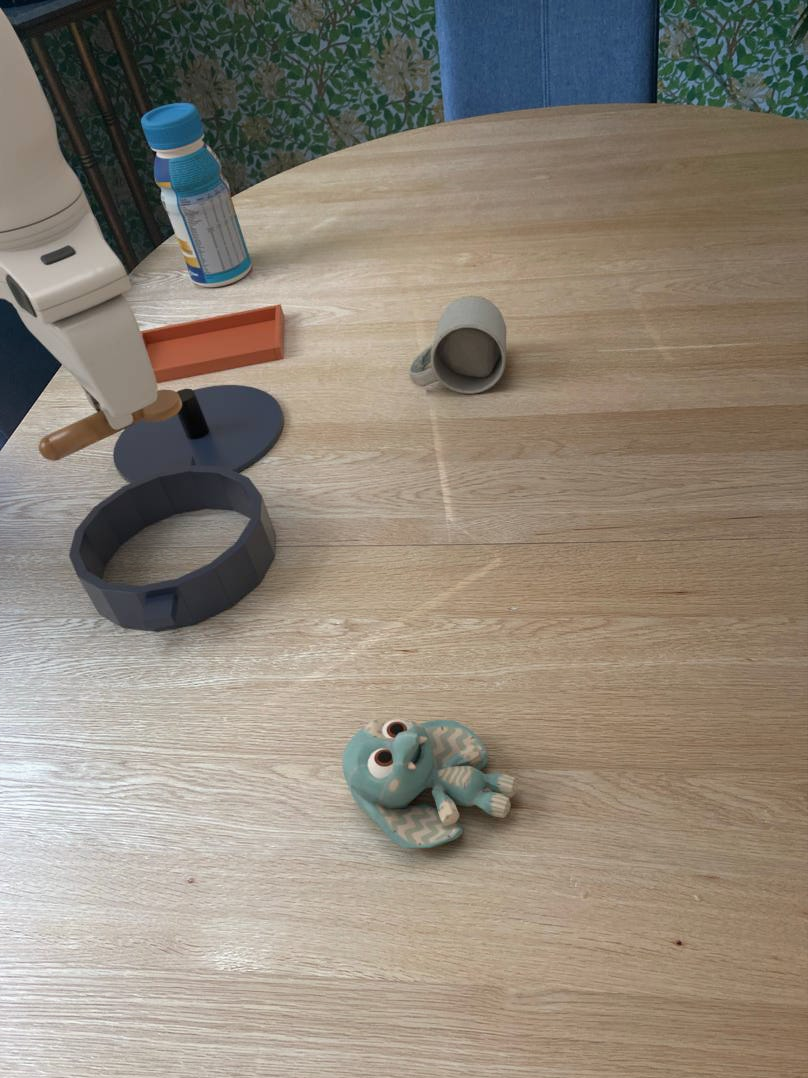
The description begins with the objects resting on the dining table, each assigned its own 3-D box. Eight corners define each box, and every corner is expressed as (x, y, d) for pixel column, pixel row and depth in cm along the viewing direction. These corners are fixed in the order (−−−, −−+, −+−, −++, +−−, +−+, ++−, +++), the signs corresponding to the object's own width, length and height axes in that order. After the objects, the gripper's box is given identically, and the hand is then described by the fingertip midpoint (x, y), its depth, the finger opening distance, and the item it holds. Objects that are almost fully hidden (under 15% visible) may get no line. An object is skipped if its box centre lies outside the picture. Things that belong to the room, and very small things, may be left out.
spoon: (54, 473, 78) (42, 452, 76) (38, 454, 80) (27, 433, 79) (189, 409, 82) (181, 387, 80) (171, 392, 84) (162, 371, 83)
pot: (75, 673, 84) (49, 631, 80) (111, 509, 99) (90, 468, 96) (274, 636, 84) (257, 592, 80) (279, 477, 99) (264, 435, 96)
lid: (106, 510, 99) (82, 463, 95) (128, 411, 112) (107, 366, 108) (284, 476, 99) (267, 427, 95) (286, 381, 112) (271, 334, 108)
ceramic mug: (510, 348, 110) (500, 282, 104) (510, 390, 104) (500, 322, 99) (415, 361, 111) (400, 296, 106) (409, 403, 105) (393, 336, 100)
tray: (135, 391, 115) (128, 375, 113) (145, 346, 122) (138, 331, 120) (284, 363, 114) (279, 346, 113) (285, 320, 122) (280, 303, 120)
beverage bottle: (235, 290, 129) (180, 125, 115) (179, 289, 132) (118, 127, 117) (265, 259, 134) (216, 97, 120) (210, 258, 137) (156, 99, 123)
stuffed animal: (494, 834, 61) (308, 781, 63) (488, 890, 66) (317, 840, 68) (538, 699, 68) (369, 655, 70) (530, 760, 73) (373, 717, 75)
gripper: (-50, 222, 76) (32, 383, 85) (41, 311, 63) (125, 488, 73) (30, 192, 78) (101, 353, 88) (134, 273, 65) (203, 449, 75)
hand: (113, 415), depth 80 cm, fingers closed on spoon, 2 cm apart
